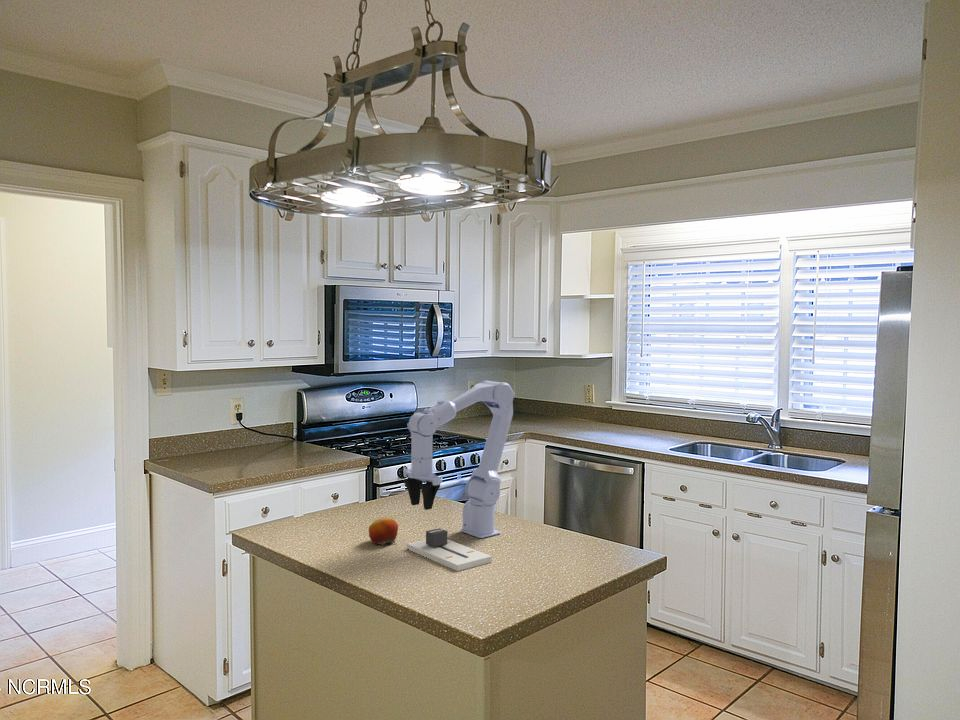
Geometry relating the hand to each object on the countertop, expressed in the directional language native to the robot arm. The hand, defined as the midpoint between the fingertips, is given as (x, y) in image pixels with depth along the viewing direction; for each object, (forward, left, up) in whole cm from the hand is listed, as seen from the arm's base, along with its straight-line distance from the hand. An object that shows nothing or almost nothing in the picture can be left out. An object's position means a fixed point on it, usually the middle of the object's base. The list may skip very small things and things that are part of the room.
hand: (421, 506), depth 199 cm
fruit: (-8, -7, -11) cm, 15 cm away
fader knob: (+7, 0, -9) cm, 11 cm away
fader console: (+12, 0, -10) cm, 16 cm away
